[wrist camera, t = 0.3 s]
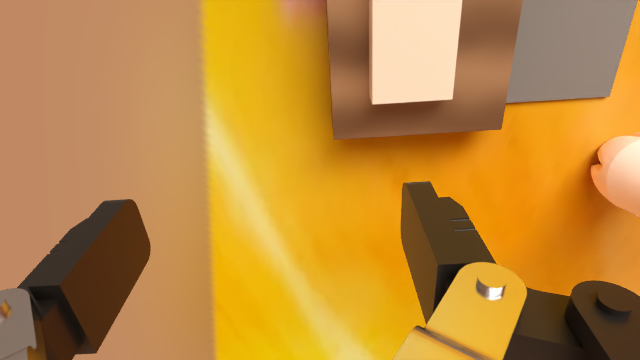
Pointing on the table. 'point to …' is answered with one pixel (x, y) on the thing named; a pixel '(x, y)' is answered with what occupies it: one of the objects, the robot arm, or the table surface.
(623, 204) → the water bottle
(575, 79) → the mat
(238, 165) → the table surface
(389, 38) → the white flat block
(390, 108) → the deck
